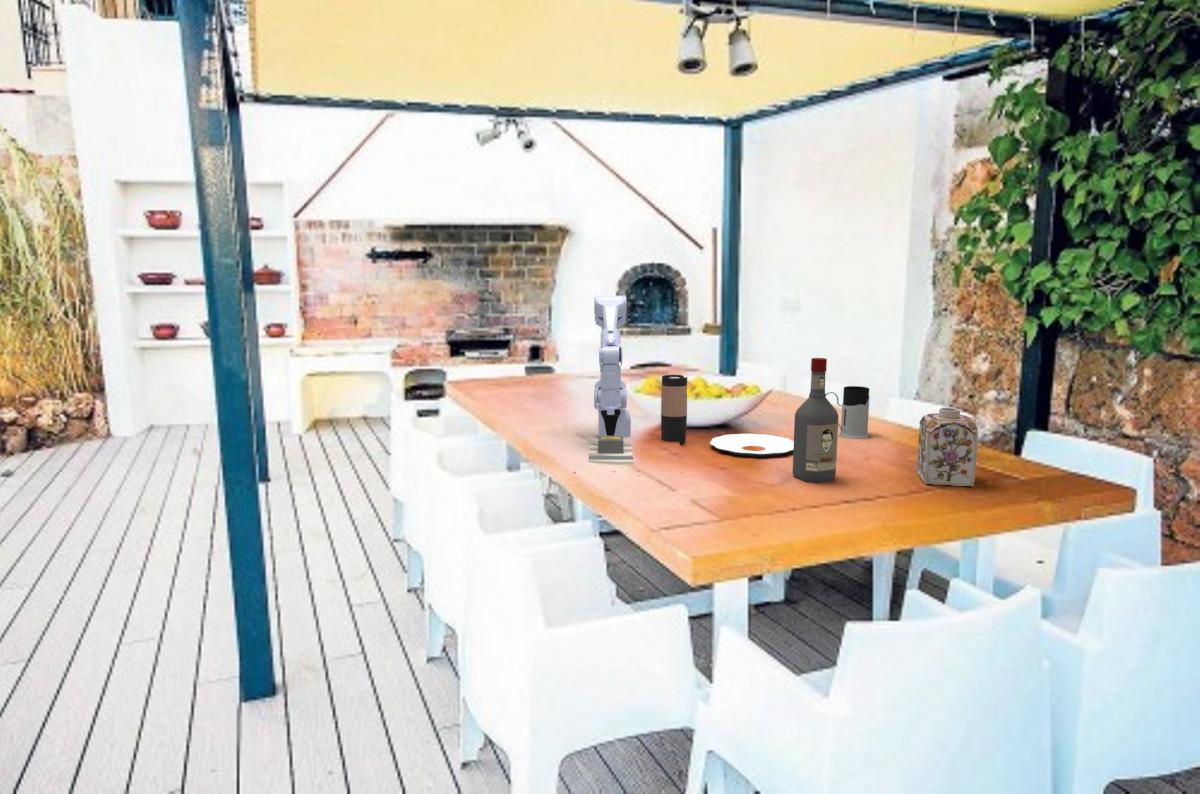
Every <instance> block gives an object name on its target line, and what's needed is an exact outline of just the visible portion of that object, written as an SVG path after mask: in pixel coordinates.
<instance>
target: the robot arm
mask: <svg viewBox="0 0 1200 794" xmlns="http://www.w3.org/2000/svg"><path fill="white" fill-rule="evenodd" d="M593 300H594V301H593V303H594V305H593V307H594V308H593V309H594V310H593V312H594V313H593V314H594V321H595V325H597V326H598V327H600V328H601V332H600V347H599V348H598V349H599V350H598V358H599V359H598V365H599V372H600V379H599V380H598V381H597V382H595V384H594V390H593V408H594V409H595V410H597V413H598V421H597V422H598V423H597V426H598V428H597V429H598V432H597V433H598V435H596V437H623V438H627V437H631V432H632V429H631V424H632V421H631V419H632V418H631V415H630V411H629V410H628V409H626V408H627V405H628V404H627V400H628V399H627V398H628V397H627V385H626V383H625V382H624V381H623V380H622V374H621V373H622V370H621V369H622V368H621V367H622V365H623V347H622V342H621V341H622V340H621V332H620V330H619V329H620V327H622V326H623V325H625V324H626V320H627V319H626V318H627V317H626V315H627V296H626V295H624V294H623V295H596V294H595V296H594V297H593Z"/></svg>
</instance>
